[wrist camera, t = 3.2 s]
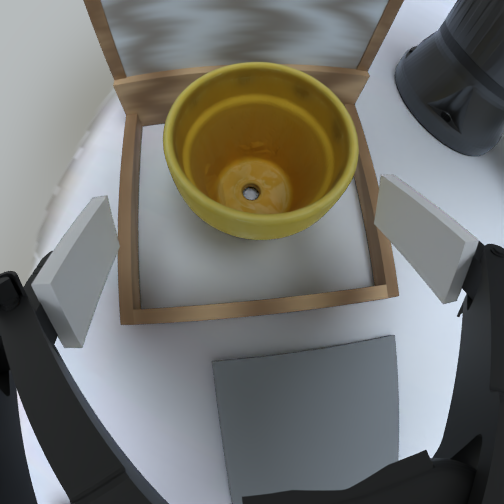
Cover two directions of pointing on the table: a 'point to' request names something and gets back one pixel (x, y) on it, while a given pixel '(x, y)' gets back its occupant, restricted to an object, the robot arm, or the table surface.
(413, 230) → the robot arm
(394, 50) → the table surface
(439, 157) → the table surface
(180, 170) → the plant pot
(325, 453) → the mat
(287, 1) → the cold frame
